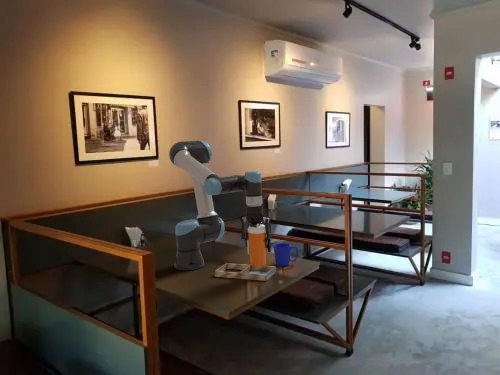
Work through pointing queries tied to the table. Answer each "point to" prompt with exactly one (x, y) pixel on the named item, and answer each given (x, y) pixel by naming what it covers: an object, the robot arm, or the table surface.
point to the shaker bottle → (257, 244)
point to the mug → (283, 254)
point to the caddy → (246, 272)
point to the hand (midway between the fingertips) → (256, 254)
